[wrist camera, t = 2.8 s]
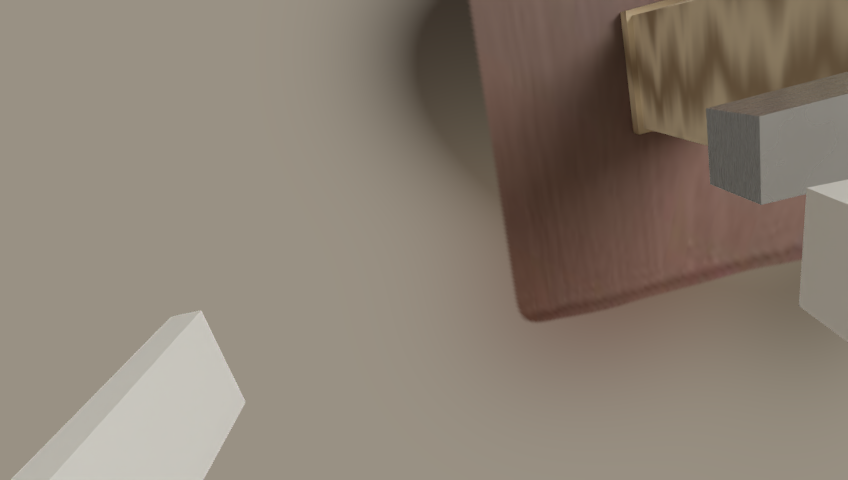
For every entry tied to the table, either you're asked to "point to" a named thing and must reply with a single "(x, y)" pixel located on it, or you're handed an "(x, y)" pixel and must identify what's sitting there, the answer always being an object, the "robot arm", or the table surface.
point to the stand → (724, 55)
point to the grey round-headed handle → (780, 140)
